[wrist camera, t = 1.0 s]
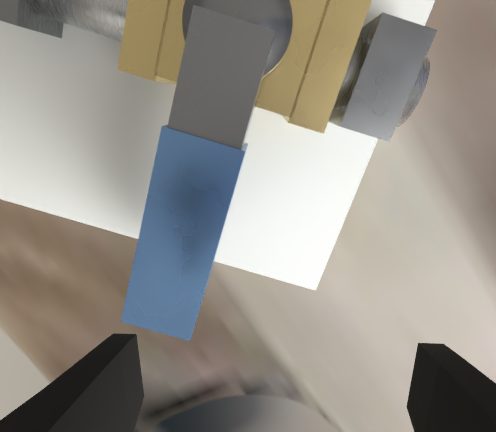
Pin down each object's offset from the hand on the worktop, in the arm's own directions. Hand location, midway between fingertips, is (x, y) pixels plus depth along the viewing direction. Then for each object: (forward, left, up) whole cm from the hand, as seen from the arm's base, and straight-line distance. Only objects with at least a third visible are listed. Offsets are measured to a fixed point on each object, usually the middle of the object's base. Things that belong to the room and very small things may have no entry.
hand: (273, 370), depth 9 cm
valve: (+6, -8, -10) cm, 14 cm away
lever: (+4, -3, -6) cm, 8 cm away
